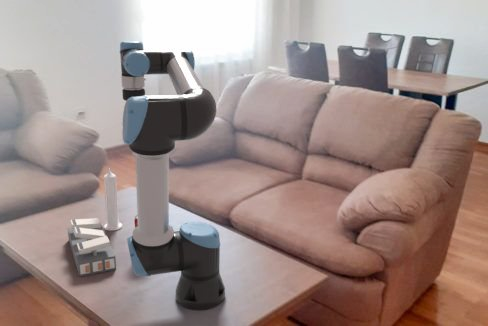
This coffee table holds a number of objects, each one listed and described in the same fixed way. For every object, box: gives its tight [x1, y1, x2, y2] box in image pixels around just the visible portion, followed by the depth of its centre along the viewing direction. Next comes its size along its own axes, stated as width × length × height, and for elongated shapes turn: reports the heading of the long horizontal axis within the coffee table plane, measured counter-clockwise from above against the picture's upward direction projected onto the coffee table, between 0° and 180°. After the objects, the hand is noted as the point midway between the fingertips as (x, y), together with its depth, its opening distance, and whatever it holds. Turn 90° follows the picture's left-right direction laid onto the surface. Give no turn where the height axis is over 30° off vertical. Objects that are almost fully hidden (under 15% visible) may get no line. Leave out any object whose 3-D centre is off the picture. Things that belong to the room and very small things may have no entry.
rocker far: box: [69, 217, 102, 229], centre depth 181 cm, size 5×10×2 cm, turn 115°
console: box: [67, 224, 117, 277], centre depth 174 cm, size 28×12×7 cm, turn 25°
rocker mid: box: [74, 227, 106, 239], centre depth 173 cm, size 5×10×2 cm, turn 115°
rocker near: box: [77, 235, 111, 254], centre depth 166 cm, size 5×10×2 cm, turn 115°
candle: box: [103, 167, 123, 232], centre depth 193 cm, size 7×7×25 cm
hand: (136, 154), depth 174 cm, fingers closed
